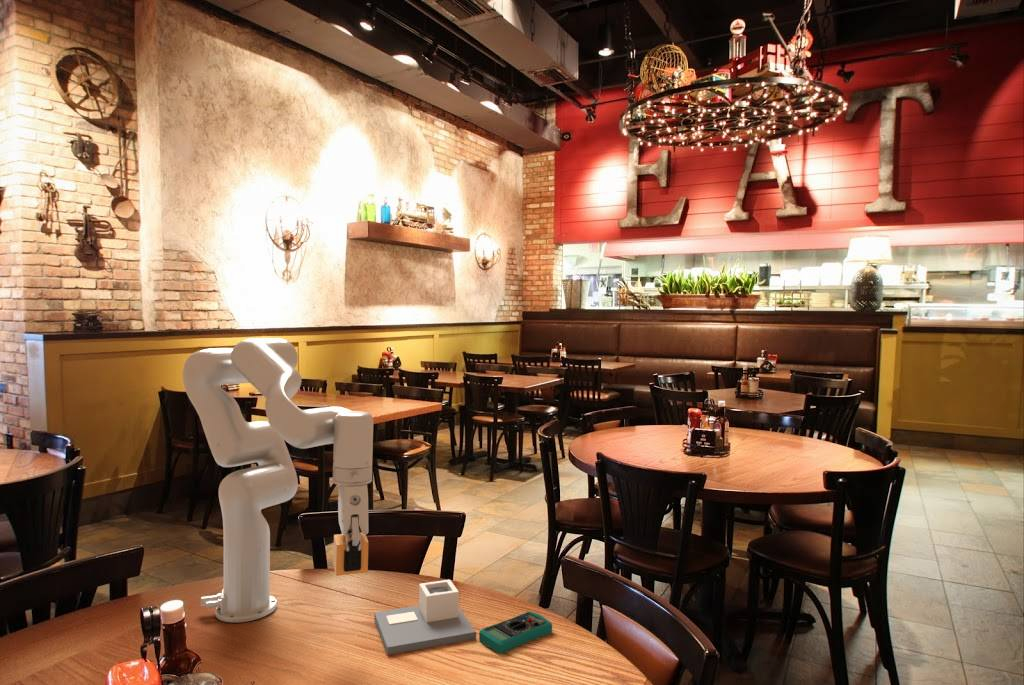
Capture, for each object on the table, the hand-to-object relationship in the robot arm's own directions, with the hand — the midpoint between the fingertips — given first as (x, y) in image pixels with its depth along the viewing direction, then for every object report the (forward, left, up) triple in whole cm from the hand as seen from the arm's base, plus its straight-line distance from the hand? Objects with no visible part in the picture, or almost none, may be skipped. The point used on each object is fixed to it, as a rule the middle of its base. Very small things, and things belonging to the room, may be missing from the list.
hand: (350, 563), depth 122 cm
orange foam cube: (0, 0, -1) cm, 1 cm away
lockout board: (+15, +2, -16) cm, 22 cm away
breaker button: (+19, +5, -14) cm, 25 cm away
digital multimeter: (+33, -8, -17) cm, 38 cm away
